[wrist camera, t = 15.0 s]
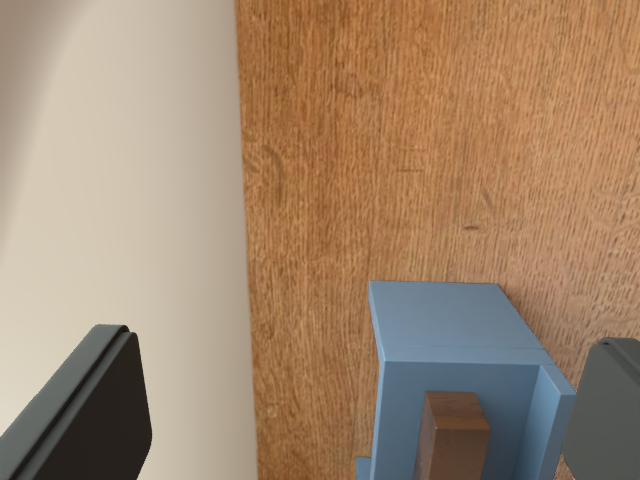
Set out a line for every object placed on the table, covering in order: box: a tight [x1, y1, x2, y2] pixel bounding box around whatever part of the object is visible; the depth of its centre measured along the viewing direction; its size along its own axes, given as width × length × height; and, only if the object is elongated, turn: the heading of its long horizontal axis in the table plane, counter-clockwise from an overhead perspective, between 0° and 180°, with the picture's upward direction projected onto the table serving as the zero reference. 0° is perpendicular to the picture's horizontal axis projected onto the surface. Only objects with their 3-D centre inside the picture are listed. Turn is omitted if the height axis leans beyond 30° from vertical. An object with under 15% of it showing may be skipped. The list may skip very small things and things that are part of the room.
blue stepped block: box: [355, 281, 577, 480], centre depth 34 cm, size 10×20×12 cm, turn 179°
